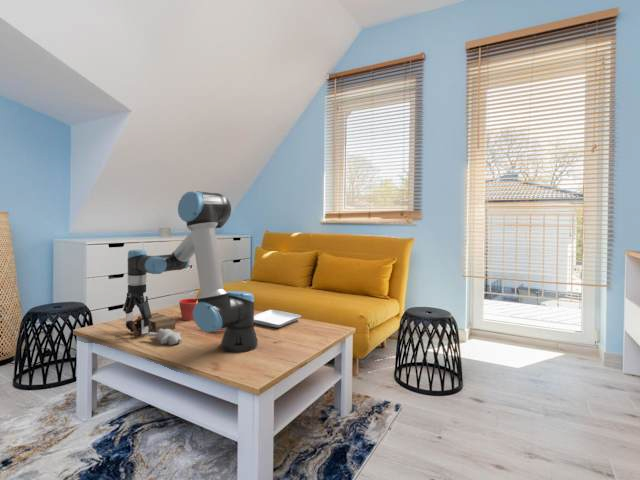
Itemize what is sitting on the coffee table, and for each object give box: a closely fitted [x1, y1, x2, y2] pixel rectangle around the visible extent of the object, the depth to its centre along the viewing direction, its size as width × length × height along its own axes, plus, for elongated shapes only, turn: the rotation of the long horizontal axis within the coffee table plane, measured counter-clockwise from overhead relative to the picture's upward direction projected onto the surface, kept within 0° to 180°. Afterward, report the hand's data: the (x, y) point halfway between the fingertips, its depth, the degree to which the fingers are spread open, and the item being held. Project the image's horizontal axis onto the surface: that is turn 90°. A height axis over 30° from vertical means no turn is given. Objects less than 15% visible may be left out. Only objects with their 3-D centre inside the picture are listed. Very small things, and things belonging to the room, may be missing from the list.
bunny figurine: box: [146, 329, 183, 346], centre depth 161 cm, size 10×5×15 cm
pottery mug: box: [125, 317, 152, 338], centre depth 170 cm, size 12×10×8 cm
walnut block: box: [137, 312, 176, 333], centre depth 180 cm, size 16×10×5 cm, turn 54°
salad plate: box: [254, 309, 302, 328], centre depth 195 cm, size 21×21×3 cm
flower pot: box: [179, 298, 198, 322], centre depth 198 cm, size 11×11×10 cm
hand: (136, 330), depth 170 cm, fingers open, 13 cm apart
